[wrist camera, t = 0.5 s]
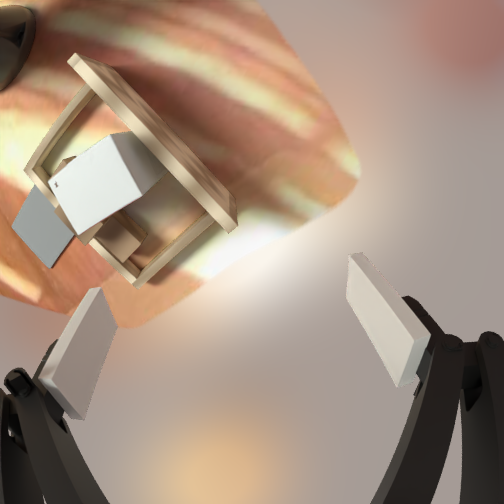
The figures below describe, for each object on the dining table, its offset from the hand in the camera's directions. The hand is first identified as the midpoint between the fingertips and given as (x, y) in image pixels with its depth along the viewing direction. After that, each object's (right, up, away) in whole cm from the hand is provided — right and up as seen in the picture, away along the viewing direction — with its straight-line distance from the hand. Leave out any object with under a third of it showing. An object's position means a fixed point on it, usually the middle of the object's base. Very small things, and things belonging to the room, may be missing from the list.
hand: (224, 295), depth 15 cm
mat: (-30, +6, +21) cm, 37 cm away
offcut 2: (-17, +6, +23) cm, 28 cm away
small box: (-14, +13, +19) cm, 27 cm away
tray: (-16, +12, +20) cm, 28 cm away
